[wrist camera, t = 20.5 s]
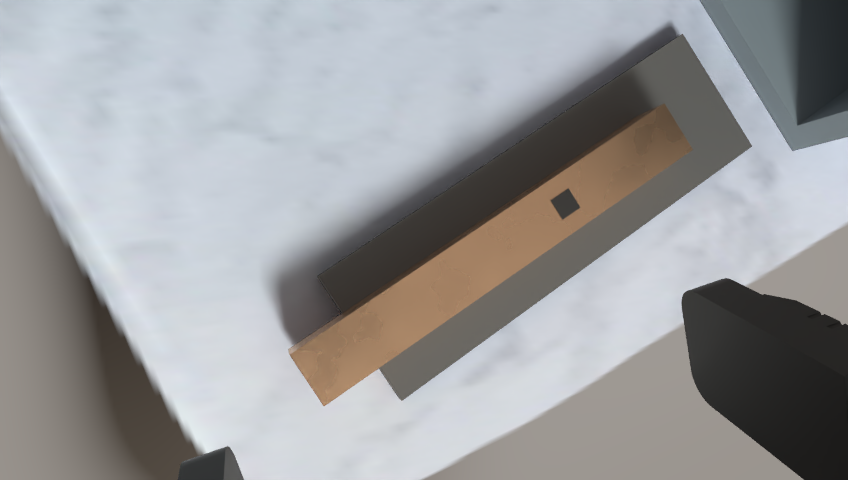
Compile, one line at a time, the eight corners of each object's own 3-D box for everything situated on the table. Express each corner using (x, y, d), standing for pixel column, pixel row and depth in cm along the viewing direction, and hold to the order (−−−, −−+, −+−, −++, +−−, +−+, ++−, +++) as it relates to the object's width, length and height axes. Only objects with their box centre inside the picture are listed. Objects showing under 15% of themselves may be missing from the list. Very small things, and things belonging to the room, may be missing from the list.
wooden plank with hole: (319, 397, 38) (324, 406, 35) (288, 349, 38) (289, 354, 35) (664, 158, 43) (693, 149, 40) (637, 115, 43) (665, 102, 40)
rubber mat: (398, 397, 40) (401, 400, 39) (317, 276, 39) (318, 276, 38) (741, 149, 45) (752, 146, 44) (673, 39, 45) (682, 33, 44)
